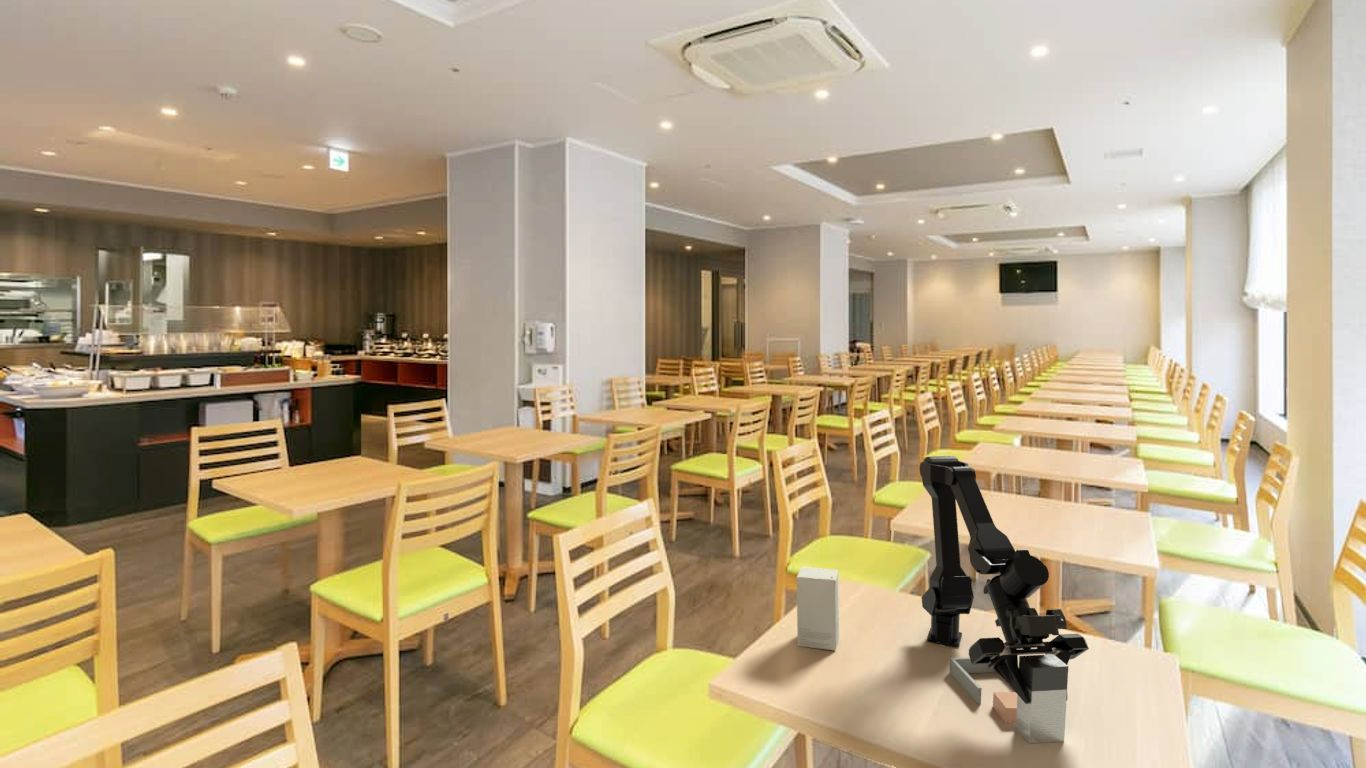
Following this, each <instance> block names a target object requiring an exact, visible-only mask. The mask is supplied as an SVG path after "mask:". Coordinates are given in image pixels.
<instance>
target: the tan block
mask: <svg viewBox="0 0 1366 768" xmlns="http://www.w3.org/2000/svg"><path fill="white" fill-rule="evenodd" d="M992 693H993V694H992V695H993V697H992V707H993V709H994V710H995V712H997V714H998V715H999V716H1000V718H1001V719H1002V720H1003V721H1004V723H1005V724H1016V714H1017V693H1016V692H1015V691H1005V692H1004V691H1001V692H1000V691H997V692H996V691H993V692H992Z"/></svg>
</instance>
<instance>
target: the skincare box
mask: <svg viewBox="0 0 1366 768" xmlns="http://www.w3.org/2000/svg"><path fill="white" fill-rule="evenodd" d="M839 594H840V593H839V569H834V568H833V569H832V568H821V567H810V566H803V565H802V566H801V567H800V569H799V572H798V573H797V576H796V615H797V616H796V617H797V618H796V619H797V623H796V624H797V625H796V626H797V628H796V629H797V647H803V648H804V647H805V648H812V649H819V650H828V651H836V650H837V647H838V643H839V638H840V623H839V622H840V617H839V614H840V611H839V609H840V608H839V604H840V603H839V602H840V601H839V600H840V599H839Z"/></svg>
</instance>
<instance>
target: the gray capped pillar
mask: <svg viewBox="0 0 1366 768" xmlns="http://www.w3.org/2000/svg"><path fill="white" fill-rule="evenodd" d="M1018 668H1019V670H1020V673H1021V676H1022V678H1023V681H1024V683H1025V686H1026V689H1027V691H1028V694H1029V698H1030V703H1029V704H1025V703H1024V701H1023V700H1022V699H1021V698H1020V697H1019V696H1018V694H1017V714H1016V723H1015V730H1016V731H1017V732H1018V733H1019V734H1020V735H1021V737H1022V738H1024V739H1025V740H1026V742H1027V743H1028V744H1043V743H1045V744H1046V743H1056V742H1057V743H1058V742H1059V743H1060V742H1065V733H1066V732H1065V731H1066V730H1065V729H1066V716H1067V714H1066V713H1067V701H1068V681H1069V680H1068V679H1069V678H1068V677H1069V665H1066V664H1065V663H1064V662H1062V661H1061V660H1060V659H1059V658H1057V657H1056V656H1055V655H1054V654H1048V655H1046V654H1029V655H1018ZM1066 700H1067V701H1066Z"/></svg>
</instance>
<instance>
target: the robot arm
mask: <svg viewBox="0 0 1366 768" xmlns="http://www.w3.org/2000/svg"><path fill="white" fill-rule="evenodd" d="M919 475H920V477H921V481H922V486H923V487H924V489H925V490H926V492H927V493H928V494H929V496H930V498H931V506H932V521H933V537H934V550H935V565H936V566H935V568H934V569H933V571H932V573H931V575H930V576H929V588H928V589H927V590H926V591H925V593H923V595H922V596H921V604H922V606H921V607H922V608H923V609H924V610H925V611H926V612H927V613H928V614H929V615H930V617H931V618H930V628H929V631H928V634H927V637H926V641H928V642H932V643H937V644H941V645H942V644H943V645H947V646H952V647H957V648H959V647H960V645H961V641H962V636H963V632H961V631H960V618H961V616H960V615H970V613H971V609H972V606H973V602H974V598H975V597H974V592H973V587H972V586H973V584H972V583H973V582H972V581H973V580H972V578H971V576H970V575H967V573H966V572H965V571H964V569H963V567H962V566H961V555H960V554H961V553H960V551H961V550H960V541H959V539H960V538H959V530H958V526H959V525H958V516H957V515H958V513H957V506H958V508H959V512H960V513H961V516H962V518H963V519H962V520H963V521H964V523H965V526H966V529H967V531H968V534H969V538H970V539H969V543H968V545H967V550H968V555H969V561H970V565H971V566H972V568H973V570H974V571H975V572H976V573H978V574H980V575H995V576H994V577H992V578H987V579H986V582H985V585H984V586H983V594H984V595H989V597H990V600H991V603H992V605H993V609H994V612H995V615H996V617H997V619H995V620H994V622H995V623H994V624H995V626H996V627H1000V628H1001V632H1002V634H1003V637H1004V640H1005V642H1004V640H1003V639H1001V638H1000V637H983V638H979V639H978V640H977V641H976V642H974V643H973V644H971V646H970V647H969V649H968V657H970V660H971V663H972V664H973V665H977V664H988V663H989V662H991V663H990V664H989V665H988V668H989V669H994V670H995V671H996V672H995V673H997V674H998V675H999V676H1000V677H1001V678H1002V679H1003V680H1004V681H1005V682H1006V683H1007V684H1008V685H1009V686H1010V688H1011V689H1013V690H1014V691H1013V692H1016V693H1017V694H1018V696H1019V697H1020V698H1021V699H1022V700H1023V701H1024V703H1025V704H1029V703H1030V698H1029V694H1028V691H1027V689H1026V686H1025V683H1024V681H1023V678H1022V676H1021V673H1020V670H1019V656H1028V655H1048V654H1054V655H1055V656H1056V657H1057V658H1059V659H1060V660H1061V661H1062V662H1064V663H1065V664H1066V665H1067V666H1069V662H1070V660H1073V659H1076V658H1077V657H1079V656H1081V655H1082V654H1083V653H1085V652H1086V651H1088V650H1089V649H1090V648H1089V645H1088V643H1087V641H1086V639H1085V637H1083V636H1082V635H1080V633H1064V634H1062V633H1061V634H1060V632H1059V630H1061V629H1062V630H1064V629H1065V630H1066V629H1067V627H1068V624H1067V619H1066V616H1065V614H1064V612H1063V611H1062V608H1054V609H1051V608H1050V609H1046V610H1045V615H1039V613H1038V611H1037V609H1036V608H1035V607H1030V603H1029V601H1028V599H1029V598H1031V596H1033V594H1035V593H1036V592H1037V591H1039V590H1040V589H1041V588H1042V587H1043V586H1045V584H1046V583H1047V582H1048V580H1049V577H1050V576H1049V575H1050V572H1049V570H1048V567H1047V566H1046V565H1045V564H1044V562H1042V560H1040V559H1039V558H1038V557H1036V556H1034V555H1031V554H1030V550H1029V549H1027V548H1025V549H1015V548H1014V546H1013V544H1012V543H1011V541H1010V539H1009V537H1008V536H1007V535H1006V534H1005V533H1004V532H1002V531H1001V530H999V528H997V526H996V524H995V522H994V520H993V518H992V516H991V513H990V511H989V508H988V506H987V504H986V502H985V499H984V497H983V494H982V492H981V490H980V487H979V485H978V483H977V475H976V471H975V469H974V468H973V467H972V466H969V463H967V462H963V461H961V460H959V459H958V457H956V456H955V455H944V456H943V455H940V456H939V455H938V456H926V457H924V459H923V461H921V462H920V464H919ZM1050 635H1052V636H1056V637H1054V638H1053V639H1051V640H1049V641H1044V640H1047V639H1048V638H1049V637H1050ZM1067 701H1068V699H1067V700H1066V702H1067Z"/></svg>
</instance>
